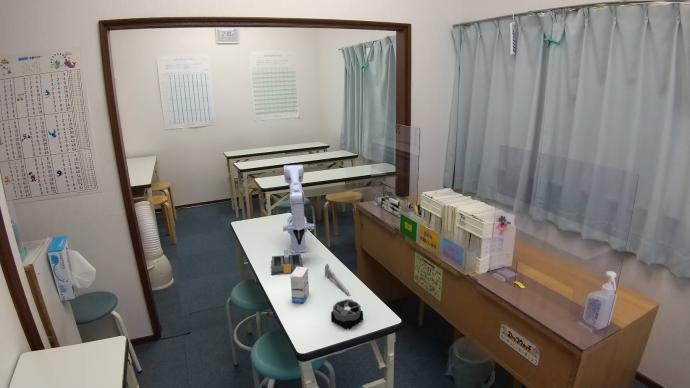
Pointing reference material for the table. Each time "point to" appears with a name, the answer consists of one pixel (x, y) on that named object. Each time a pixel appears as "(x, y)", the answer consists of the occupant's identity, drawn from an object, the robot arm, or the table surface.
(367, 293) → the table surface
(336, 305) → the cpu cooler
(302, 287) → the ink box
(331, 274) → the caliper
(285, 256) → the panel
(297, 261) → the panel rack
